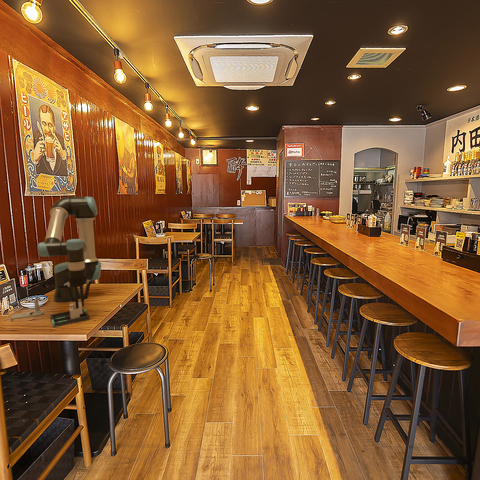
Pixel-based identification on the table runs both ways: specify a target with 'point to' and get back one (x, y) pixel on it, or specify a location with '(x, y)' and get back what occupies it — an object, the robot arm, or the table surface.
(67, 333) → the table surface
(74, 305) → the beige rectangular block
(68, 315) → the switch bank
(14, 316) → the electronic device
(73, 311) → the beige handled cube
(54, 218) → the robot arm
